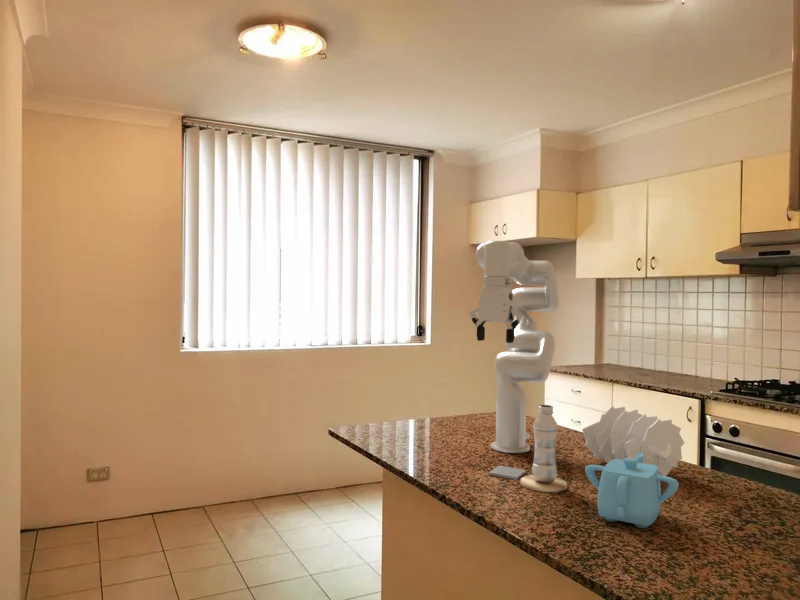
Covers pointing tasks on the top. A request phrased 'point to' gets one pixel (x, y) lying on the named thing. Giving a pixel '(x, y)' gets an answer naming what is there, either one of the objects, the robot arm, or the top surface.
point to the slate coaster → (507, 472)
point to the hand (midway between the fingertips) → (495, 341)
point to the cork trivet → (543, 484)
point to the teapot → (630, 490)
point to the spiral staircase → (635, 438)
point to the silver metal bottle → (544, 445)
